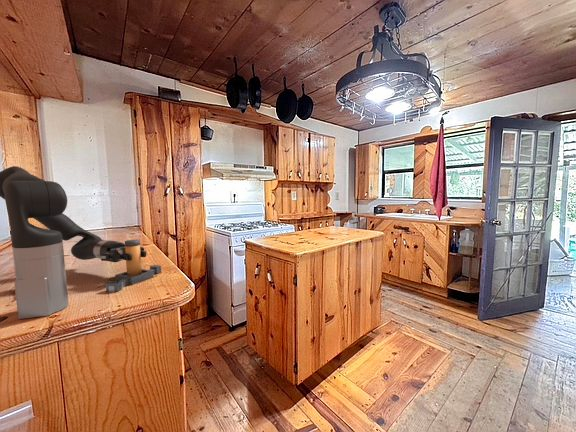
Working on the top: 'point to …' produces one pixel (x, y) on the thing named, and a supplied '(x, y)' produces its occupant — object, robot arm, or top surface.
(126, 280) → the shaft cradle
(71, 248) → the robot arm
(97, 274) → the top surface
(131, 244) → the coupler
